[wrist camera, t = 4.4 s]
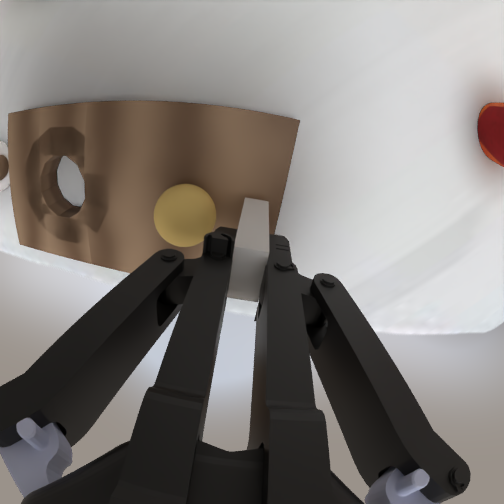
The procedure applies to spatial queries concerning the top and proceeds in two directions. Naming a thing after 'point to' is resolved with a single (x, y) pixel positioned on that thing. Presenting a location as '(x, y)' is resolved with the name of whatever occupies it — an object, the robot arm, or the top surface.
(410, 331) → the top surface
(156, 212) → the ball
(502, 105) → the coffee cup
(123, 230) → the board
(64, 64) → the top surface
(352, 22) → the top surface
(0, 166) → the beer glass
